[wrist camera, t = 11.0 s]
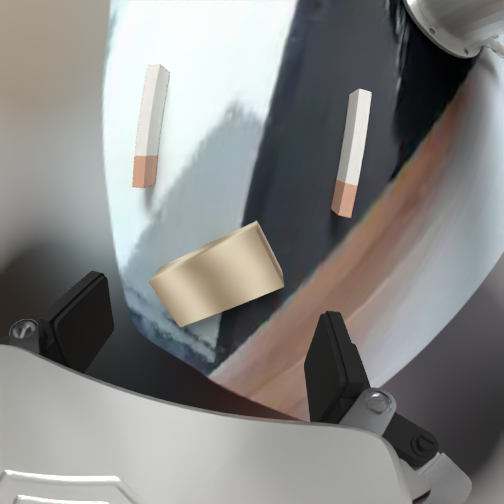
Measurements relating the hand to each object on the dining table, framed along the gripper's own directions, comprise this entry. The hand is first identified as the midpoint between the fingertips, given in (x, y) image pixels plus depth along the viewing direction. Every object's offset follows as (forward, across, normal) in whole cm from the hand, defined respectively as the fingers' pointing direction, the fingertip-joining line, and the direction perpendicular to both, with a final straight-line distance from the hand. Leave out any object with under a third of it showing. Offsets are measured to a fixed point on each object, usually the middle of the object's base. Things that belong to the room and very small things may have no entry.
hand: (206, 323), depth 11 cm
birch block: (+18, +2, +6) cm, 19 cm away
